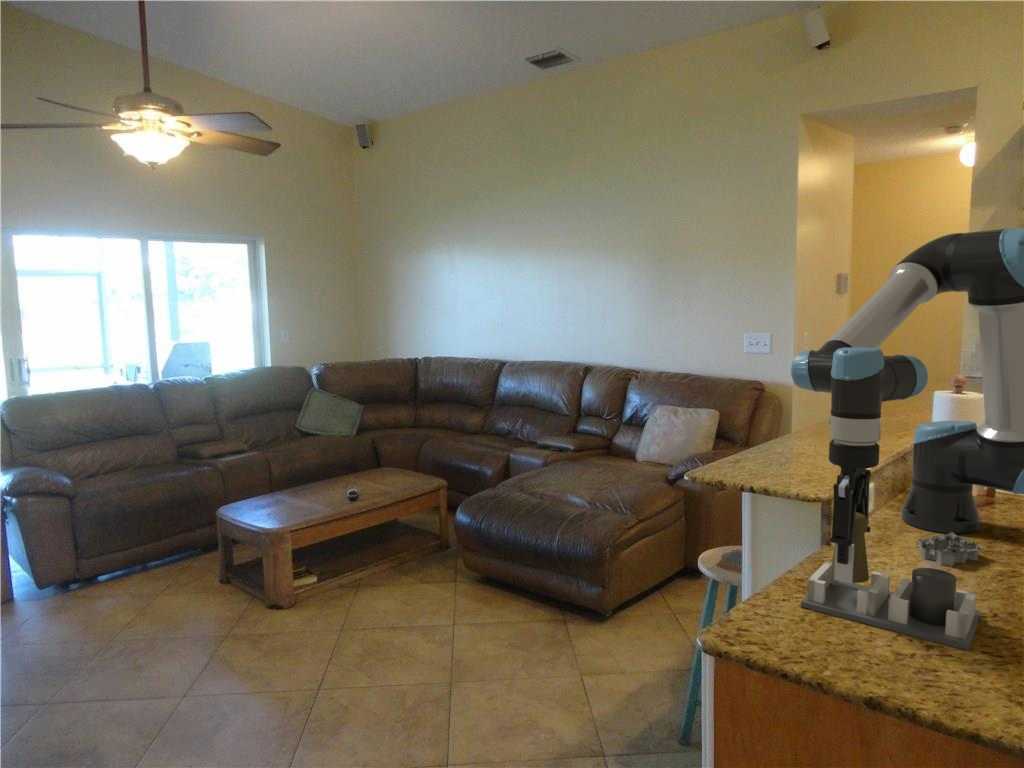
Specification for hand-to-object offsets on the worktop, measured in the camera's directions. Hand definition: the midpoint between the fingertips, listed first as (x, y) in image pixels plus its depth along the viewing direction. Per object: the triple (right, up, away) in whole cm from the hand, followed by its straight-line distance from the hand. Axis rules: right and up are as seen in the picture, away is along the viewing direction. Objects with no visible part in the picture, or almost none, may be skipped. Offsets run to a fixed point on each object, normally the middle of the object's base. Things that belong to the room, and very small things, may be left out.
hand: (848, 574), depth 119 cm
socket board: (+5, -5, -3) cm, 8 cm away
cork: (0, 0, 0) cm, 1 cm away
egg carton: (+29, -2, +20) cm, 35 cm away
